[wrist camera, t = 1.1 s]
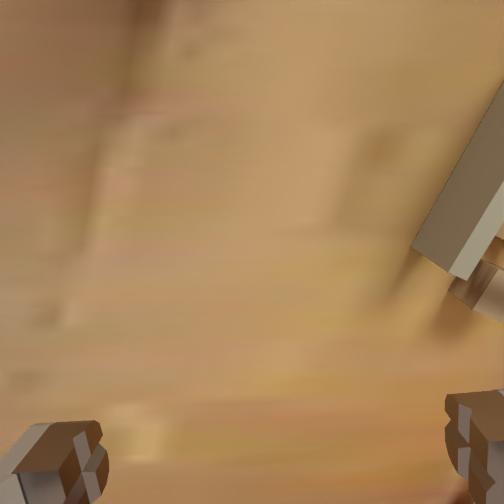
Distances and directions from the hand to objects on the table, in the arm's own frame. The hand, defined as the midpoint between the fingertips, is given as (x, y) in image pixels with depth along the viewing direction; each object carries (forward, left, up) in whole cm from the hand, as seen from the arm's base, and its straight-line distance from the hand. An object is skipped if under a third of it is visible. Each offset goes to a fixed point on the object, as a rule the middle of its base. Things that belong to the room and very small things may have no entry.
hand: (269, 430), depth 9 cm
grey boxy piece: (-13, +22, -38) cm, 46 cm away
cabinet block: (-2, +26, -38) cm, 46 cm away
